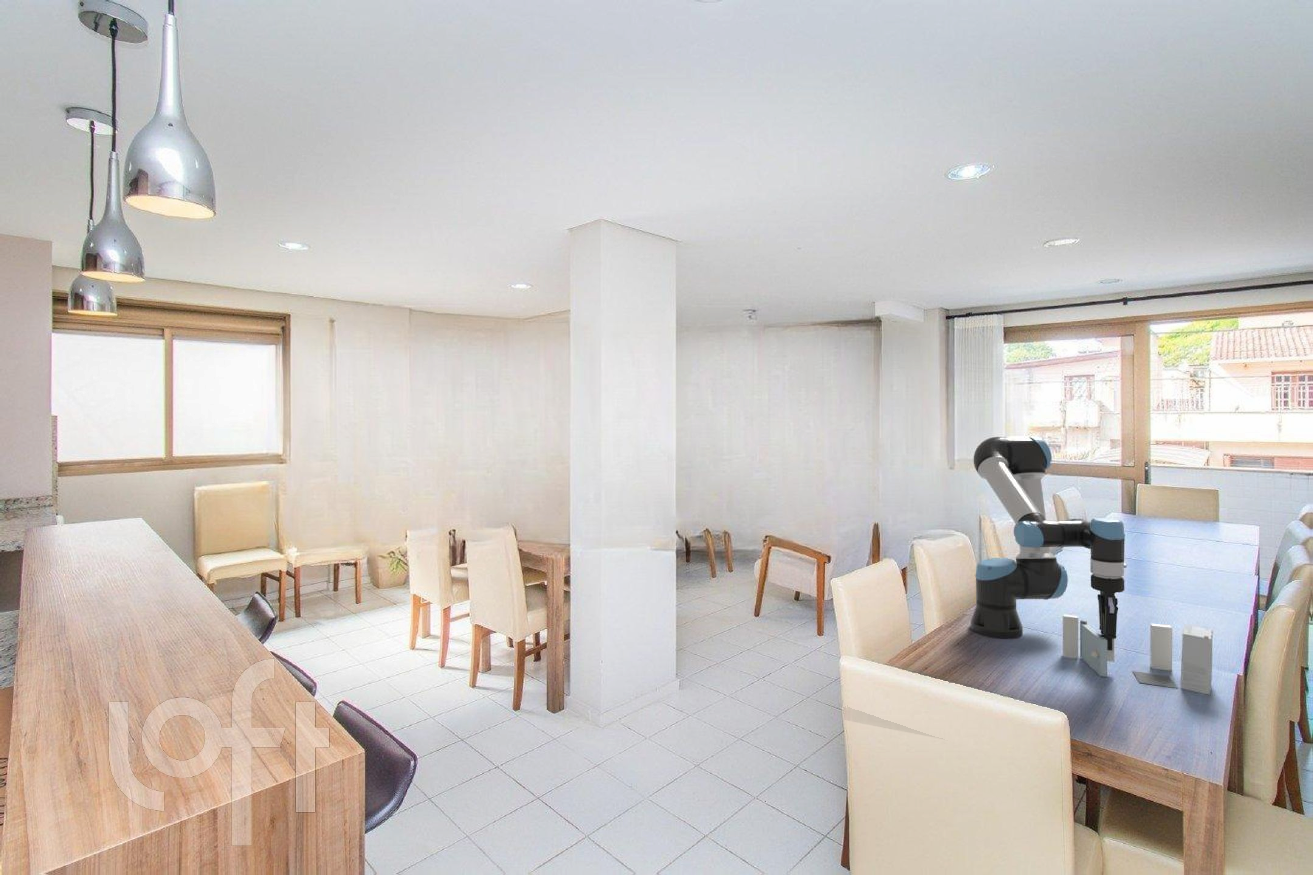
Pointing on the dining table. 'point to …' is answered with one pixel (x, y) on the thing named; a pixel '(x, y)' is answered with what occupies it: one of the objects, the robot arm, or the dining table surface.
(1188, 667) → the skincare box
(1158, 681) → the mat
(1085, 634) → the door
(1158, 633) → the wall
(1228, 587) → the dining table surface
